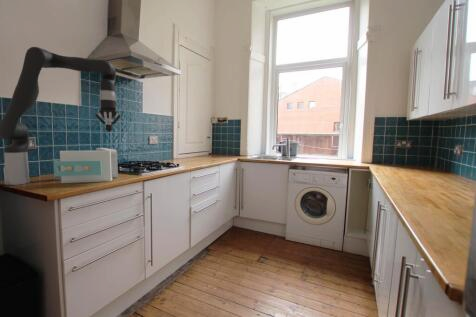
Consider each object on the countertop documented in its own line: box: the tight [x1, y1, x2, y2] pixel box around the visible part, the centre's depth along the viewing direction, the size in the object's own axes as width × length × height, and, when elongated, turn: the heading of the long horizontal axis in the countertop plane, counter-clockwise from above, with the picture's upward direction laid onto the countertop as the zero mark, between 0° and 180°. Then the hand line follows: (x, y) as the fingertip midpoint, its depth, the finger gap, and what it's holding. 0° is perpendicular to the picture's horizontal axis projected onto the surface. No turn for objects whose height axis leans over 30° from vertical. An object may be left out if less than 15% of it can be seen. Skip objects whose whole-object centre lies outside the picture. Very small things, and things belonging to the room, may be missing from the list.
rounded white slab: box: [95, 147, 119, 179], centre depth 161 cm, size 29×8×18 cm, turn 44°
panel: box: [53, 160, 102, 177], centre depth 131 cm, size 22×1×8 cm, turn 108°
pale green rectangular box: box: [59, 150, 113, 184], centre depth 136 cm, size 25×13×18 cm, turn 108°
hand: (109, 131), depth 133 cm, fingers closed
